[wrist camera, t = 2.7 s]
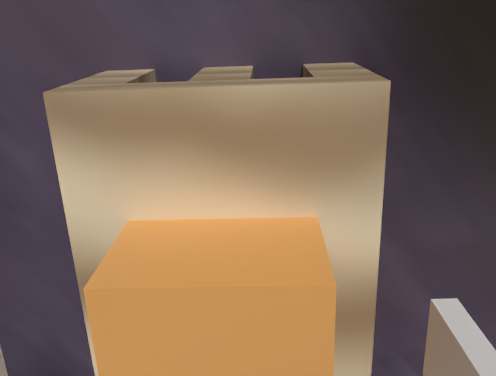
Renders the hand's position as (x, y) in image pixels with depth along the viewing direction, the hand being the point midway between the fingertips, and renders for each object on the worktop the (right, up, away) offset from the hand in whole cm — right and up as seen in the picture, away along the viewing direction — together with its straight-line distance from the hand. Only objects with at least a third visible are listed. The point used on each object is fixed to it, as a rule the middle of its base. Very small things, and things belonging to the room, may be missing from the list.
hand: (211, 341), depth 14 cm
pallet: (+1, +3, +7) cm, 8 cm away
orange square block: (0, +1, +2) cm, 2 cm away
